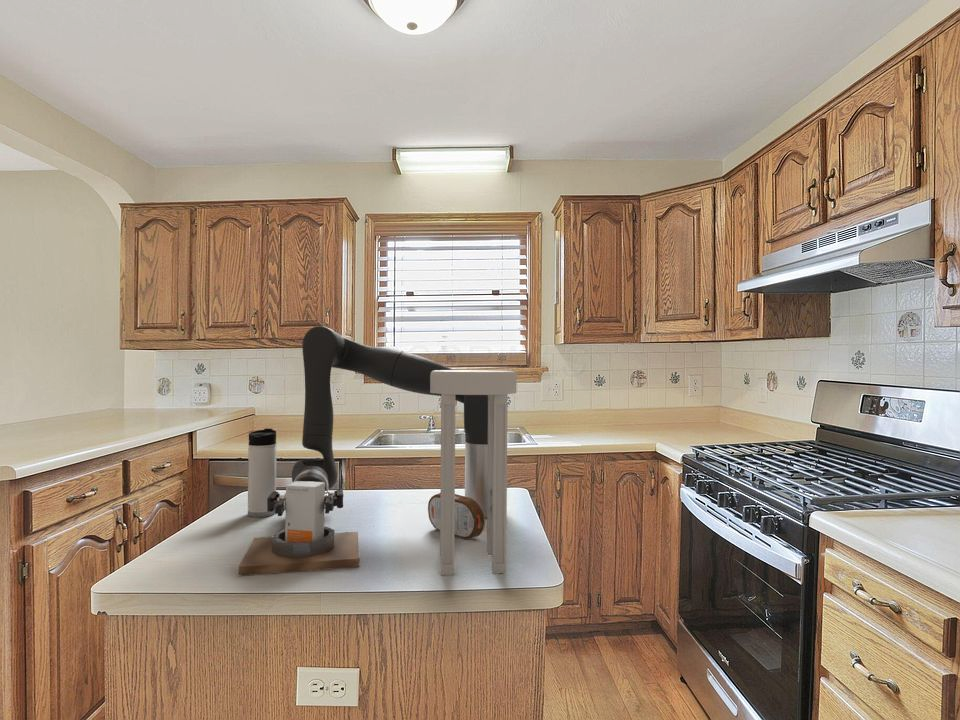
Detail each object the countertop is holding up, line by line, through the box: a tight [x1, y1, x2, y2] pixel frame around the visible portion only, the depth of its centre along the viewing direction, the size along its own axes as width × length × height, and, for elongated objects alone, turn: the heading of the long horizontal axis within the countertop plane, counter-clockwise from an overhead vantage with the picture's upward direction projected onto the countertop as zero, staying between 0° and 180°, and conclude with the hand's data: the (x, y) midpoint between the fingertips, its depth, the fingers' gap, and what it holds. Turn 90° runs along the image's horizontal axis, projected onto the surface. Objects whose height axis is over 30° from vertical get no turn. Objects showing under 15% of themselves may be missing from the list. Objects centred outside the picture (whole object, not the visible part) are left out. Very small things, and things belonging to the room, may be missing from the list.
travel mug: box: [247, 427, 277, 518], centre depth 133 cm, size 6×7×20 cm
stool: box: [430, 369, 518, 576], centre depth 101 cm, size 16×16×35 cm
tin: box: [427, 492, 485, 540], centre depth 118 cm, size 15×3×8 cm, turn 47°
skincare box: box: [284, 481, 325, 542], centre depth 104 cm, size 6×4×12 cm
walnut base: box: [238, 531, 360, 576], centre depth 104 cm, size 20×16×2 cm
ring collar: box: [272, 525, 336, 558], centre depth 104 cm, size 11×11×2 cm
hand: (303, 509), depth 102 cm, fingers open, 8 cm apart
